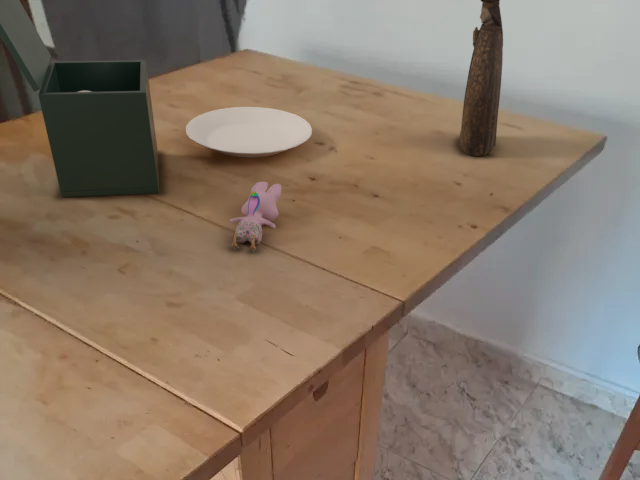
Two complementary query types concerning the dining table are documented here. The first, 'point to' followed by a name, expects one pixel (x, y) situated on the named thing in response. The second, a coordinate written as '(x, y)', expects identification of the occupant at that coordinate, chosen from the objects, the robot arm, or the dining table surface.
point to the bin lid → (23, 42)
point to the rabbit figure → (257, 213)
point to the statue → (483, 84)
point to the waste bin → (100, 127)
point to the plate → (249, 131)
